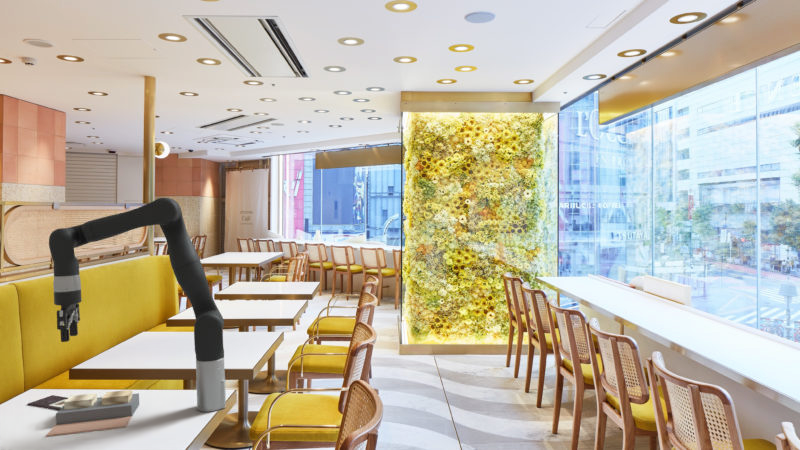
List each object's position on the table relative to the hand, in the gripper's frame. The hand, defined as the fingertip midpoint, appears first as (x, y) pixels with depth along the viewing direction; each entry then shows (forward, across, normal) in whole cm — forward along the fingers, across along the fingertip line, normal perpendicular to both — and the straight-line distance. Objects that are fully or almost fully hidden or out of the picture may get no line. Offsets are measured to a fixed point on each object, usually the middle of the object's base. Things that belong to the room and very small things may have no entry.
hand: (69, 338), depth 168 cm
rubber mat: (+28, -7, -7) cm, 29 cm away
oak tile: (+22, +4, -12) cm, 26 cm away
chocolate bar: (+28, +21, +11) cm, 37 cm away
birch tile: (+22, +4, -1) cm, 23 cm away
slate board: (+28, +4, -7) cm, 29 cm away
